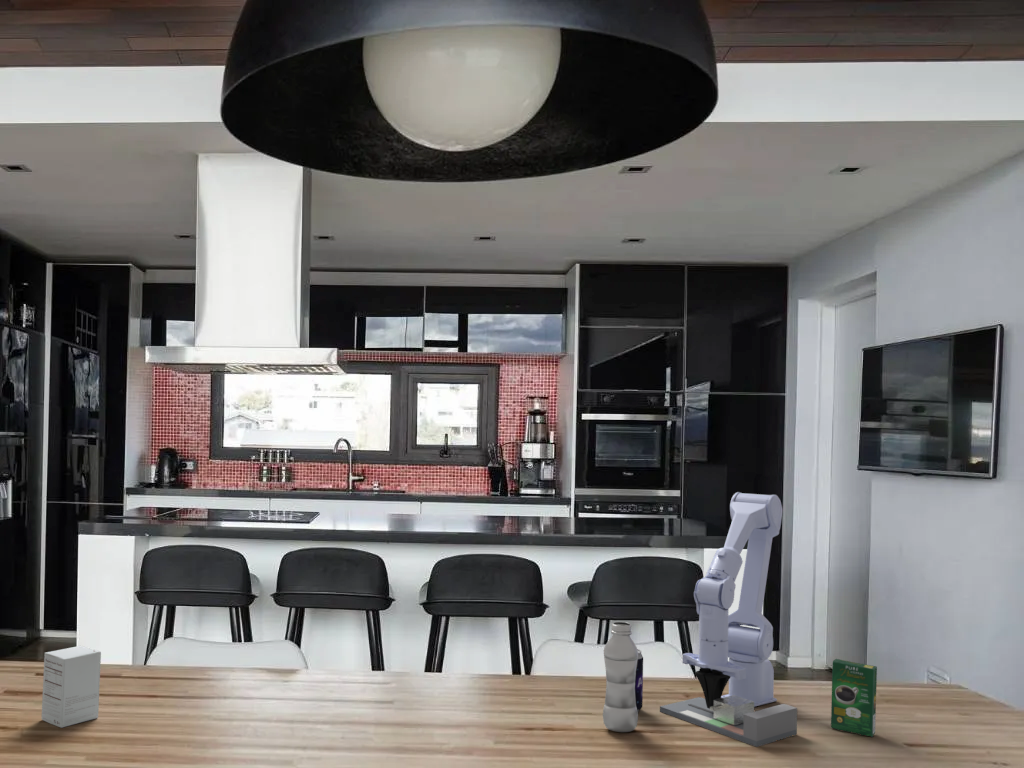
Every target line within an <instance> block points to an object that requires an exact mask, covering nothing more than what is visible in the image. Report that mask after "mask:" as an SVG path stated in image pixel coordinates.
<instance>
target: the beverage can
mask: <svg viewBox="0 0 1024 768" xmlns="http://www.w3.org/2000/svg"><path fill="white" fill-rule="evenodd" d="M637 650H638V658H637V659H638V660H637V667H636V675H635V698H636V707H637V712H638V713H639V711H640V710H642V709H643V704H644V703H643V697H644V696H643V692H644V689H643V688H644V657H643V654H642V650H641V649H638V648H637Z"/></svg>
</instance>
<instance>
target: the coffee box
mask: <svg viewBox="0 0 1024 768" xmlns="http://www.w3.org/2000/svg"><path fill="white" fill-rule="evenodd" d="M877 672H878V666H876V665H870V664H865V663H860V662H855V661H850V660H849V661H848V660H844V659H839V658H835V659H834V660H833V661H832V674H831V702H830V703H831V705H830V706H831V709H830V710H831V713H830V729H833V728H834V730H837V731H840V730H843V731H842V732H847V733H851V732H852V733H853V734H856V733H857V735H860V734H861V736H863V735H866V736H867V737H869V736H871V738H873V737H874V736H873V735H875V734H876V721H877V720H876V717H877V715H876V714H877V711H876V709H877V681H878V679H877V678H878V677H877V675H878V673H877ZM852 733H851V734H852Z"/></svg>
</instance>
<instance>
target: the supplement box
mask: <svg viewBox="0 0 1024 768" xmlns="http://www.w3.org/2000/svg"><path fill="white" fill-rule="evenodd" d="M43 656H44V658H43V678H42V679H43V680H42V681H43V682H42V701H41V720H42V721H44V722H46V723H48V724H50V725H53V726H55V727H59V728H61V729H62V728H66V727H69V726H73V725H76V724H80V723H84V722H88V721H91V720H95V719H98V718H99V710H100V709H99V705H100V685H101V683H100V681H101V662H102V661H101V659H102V652H101V651H100V650H97V649H94V648H91V647H88V646H83V645H77V646H73V647H68V648H67V647H66V648H62V649H57V650H51V651H47V652H44V655H43Z"/></svg>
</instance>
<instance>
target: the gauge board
mask: <svg viewBox="0 0 1024 768" xmlns="http://www.w3.org/2000/svg"><path fill="white" fill-rule="evenodd" d="M659 712H660V713H662V714H666V715H669V716H671V717H674V718H677V719H679V720H683V721H685V722H688V723H691V724H693V725H696V726H699V727H701V728H704V729H707V730H710V731H712V732H715V733H718V734H721V735H723V736H726V737H729V738H731V739H734V740H737V741H740V742H743V743H745V744H747V745H751V746H753V747H756V748H758V747H761V746H764V745H768V744H771V743H775V742H777V741H776V740H778V741H781V740H784V739H787V738H786V737H788V738H790V737H789V736H791V737H793V736H792V735H794V736H797V735H798V707H796V706H792V705H789V704H787V703H782V704H778V705H773V706H770V707H767V708H762V709H759V710H754V712H751V713H747V714H744V723H741V724H737V725H731V724H728V723H726V722H723V721H720V720H717V719H714V718H713V717H714V711H711V710H710V709H709V708H707V705H706V701H705V697H701V696H698V697H694V698H689V699H686V700H681V701H676V702H673V703H668V704H664V705H660V706H659ZM796 734H797V735H796ZM783 738H784V739H783ZM780 739H781V740H780Z"/></svg>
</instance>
